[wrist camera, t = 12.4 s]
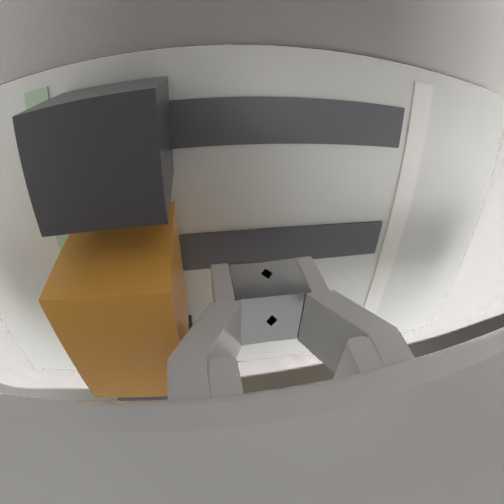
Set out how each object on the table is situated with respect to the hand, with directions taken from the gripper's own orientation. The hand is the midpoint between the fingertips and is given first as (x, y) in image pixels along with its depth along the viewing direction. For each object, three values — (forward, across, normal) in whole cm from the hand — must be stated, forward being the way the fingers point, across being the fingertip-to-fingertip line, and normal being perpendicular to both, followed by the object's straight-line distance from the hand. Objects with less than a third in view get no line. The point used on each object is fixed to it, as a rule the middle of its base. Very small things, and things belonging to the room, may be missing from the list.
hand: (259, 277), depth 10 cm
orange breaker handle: (+1, +4, 0) cm, 4 cm away
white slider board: (+3, 0, 0) cm, 3 cm away
